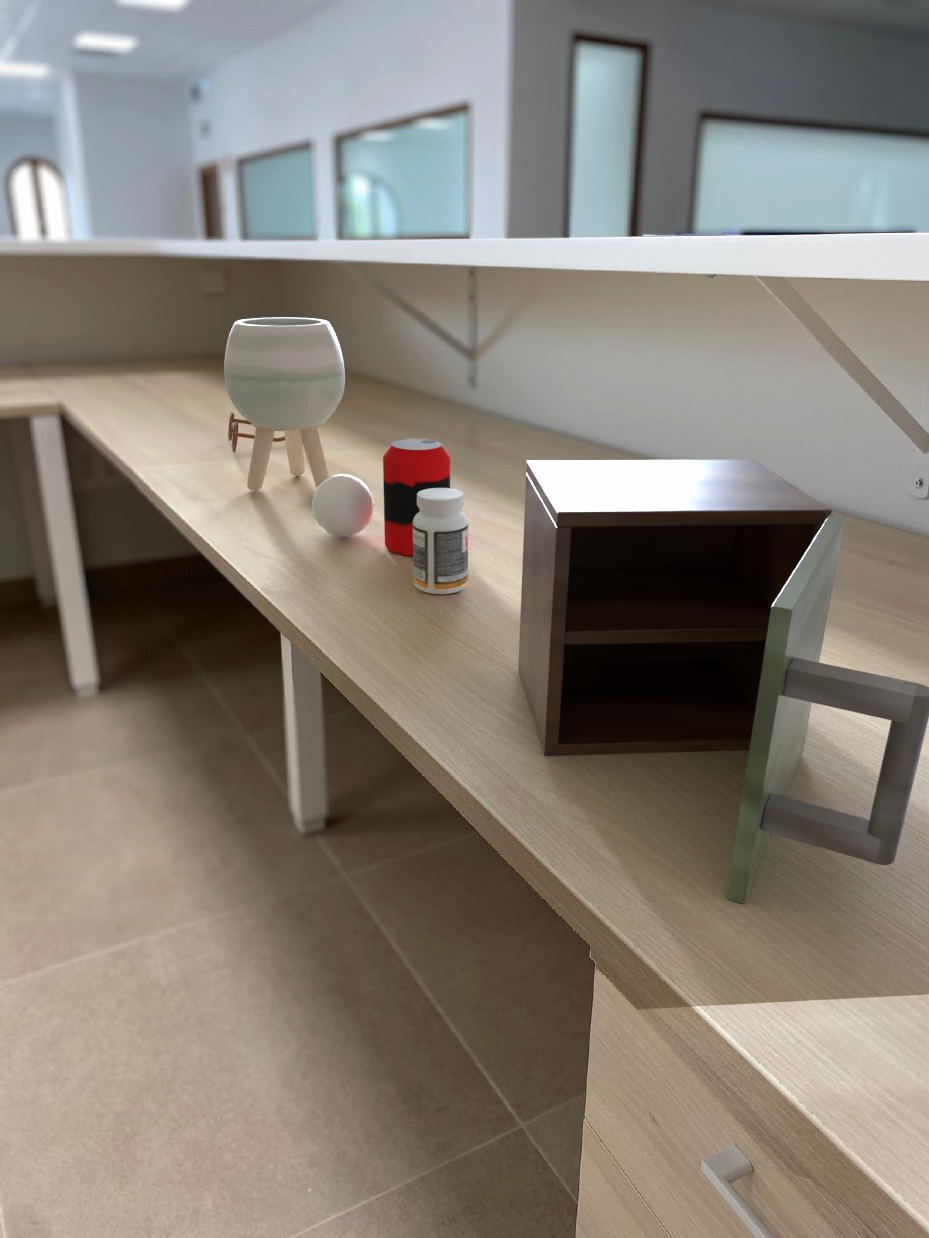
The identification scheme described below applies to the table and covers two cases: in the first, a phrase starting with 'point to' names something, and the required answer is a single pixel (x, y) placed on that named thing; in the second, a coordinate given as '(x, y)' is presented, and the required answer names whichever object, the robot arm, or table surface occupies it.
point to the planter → (285, 387)
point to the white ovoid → (343, 505)
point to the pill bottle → (440, 542)
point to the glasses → (234, 431)
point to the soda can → (410, 486)
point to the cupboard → (653, 599)
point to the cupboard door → (784, 721)
